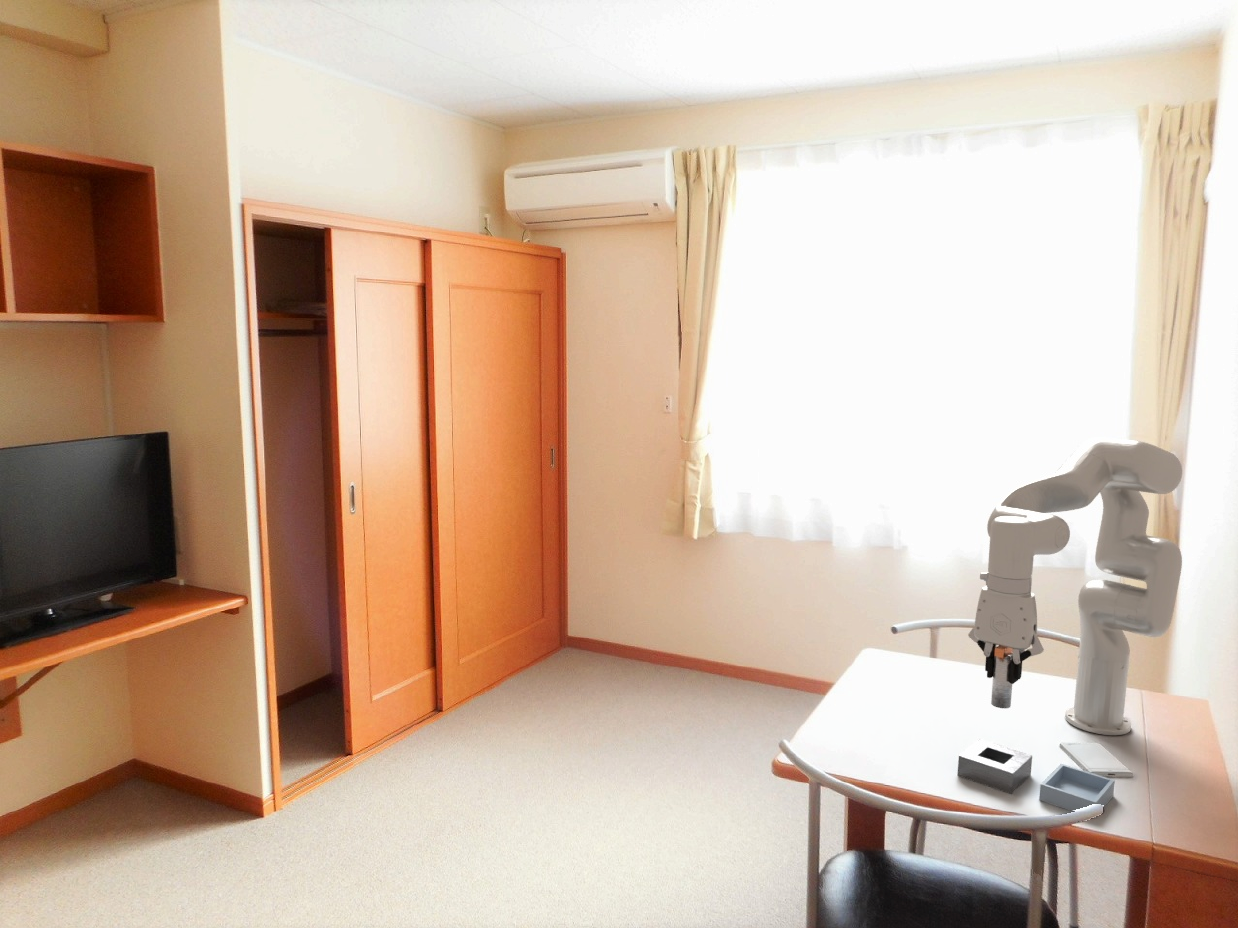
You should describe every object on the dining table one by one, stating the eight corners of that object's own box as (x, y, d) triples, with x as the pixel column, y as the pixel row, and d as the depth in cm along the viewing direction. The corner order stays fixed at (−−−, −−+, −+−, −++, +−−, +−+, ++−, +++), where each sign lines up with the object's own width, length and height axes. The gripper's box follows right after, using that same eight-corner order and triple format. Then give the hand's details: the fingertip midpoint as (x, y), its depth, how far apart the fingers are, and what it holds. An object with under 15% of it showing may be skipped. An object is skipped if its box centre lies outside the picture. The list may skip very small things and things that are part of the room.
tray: (1059, 778, 171) (1061, 763, 171) (1113, 795, 165) (1114, 780, 164) (1039, 799, 163) (1040, 784, 162) (1094, 818, 157) (1096, 802, 156)
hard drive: (1059, 741, 184) (1090, 770, 172) (1100, 742, 184) (1133, 771, 172) (1059, 749, 185) (1089, 778, 172) (1099, 750, 185) (1132, 779, 172)
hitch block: (978, 758, 179) (979, 738, 178) (1030, 775, 172) (1032, 755, 172) (957, 775, 172) (958, 755, 171) (1011, 793, 165) (1012, 773, 164)
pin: (986, 705, 170) (990, 646, 168) (997, 698, 173) (1001, 640, 171) (1004, 711, 167) (1008, 650, 166) (1015, 703, 171) (1019, 644, 169)
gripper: (956, 579, 170) (951, 672, 172) (1049, 597, 158) (1041, 696, 161) (972, 571, 175) (967, 662, 178) (1063, 588, 164) (1055, 684, 167)
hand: (1002, 677), depth 169 cm, fingers closed on pin, 3 cm apart
